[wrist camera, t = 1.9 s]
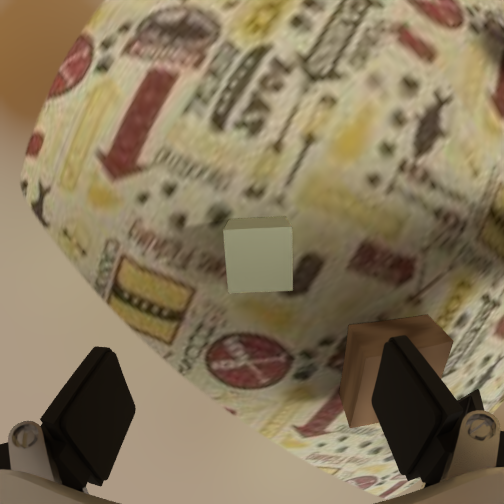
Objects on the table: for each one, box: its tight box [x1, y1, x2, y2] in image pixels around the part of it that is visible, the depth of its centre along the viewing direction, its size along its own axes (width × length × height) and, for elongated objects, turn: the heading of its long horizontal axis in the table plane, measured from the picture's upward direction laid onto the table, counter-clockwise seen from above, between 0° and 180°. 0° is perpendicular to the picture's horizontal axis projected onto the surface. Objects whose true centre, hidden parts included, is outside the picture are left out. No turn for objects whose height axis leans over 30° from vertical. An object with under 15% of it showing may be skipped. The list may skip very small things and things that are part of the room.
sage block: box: [223, 216, 293, 293], centre depth 24 cm, size 5×5×5 cm
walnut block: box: [339, 315, 453, 428], centre depth 27 cm, size 10×10×6 cm
